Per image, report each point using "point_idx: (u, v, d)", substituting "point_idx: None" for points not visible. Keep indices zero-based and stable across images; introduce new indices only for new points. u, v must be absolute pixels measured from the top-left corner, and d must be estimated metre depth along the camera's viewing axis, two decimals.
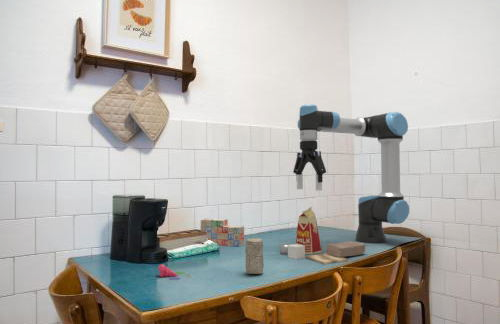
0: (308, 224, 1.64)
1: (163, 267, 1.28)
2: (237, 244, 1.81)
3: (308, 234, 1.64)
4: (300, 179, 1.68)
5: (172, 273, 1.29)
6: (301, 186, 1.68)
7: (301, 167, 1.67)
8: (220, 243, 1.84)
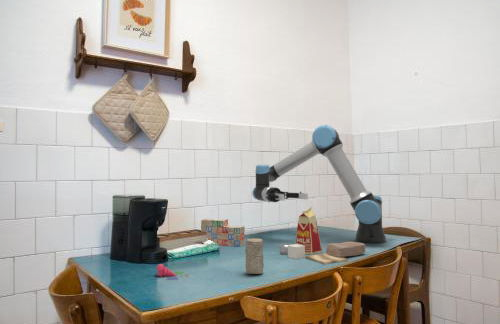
0: (308, 223, 1.64)
1: (161, 267, 1.28)
2: (237, 244, 1.81)
3: (308, 234, 1.64)
4: (301, 195, 1.84)
5: (170, 273, 1.29)
6: (305, 195, 1.81)
7: (292, 196, 1.87)
8: (220, 243, 1.84)
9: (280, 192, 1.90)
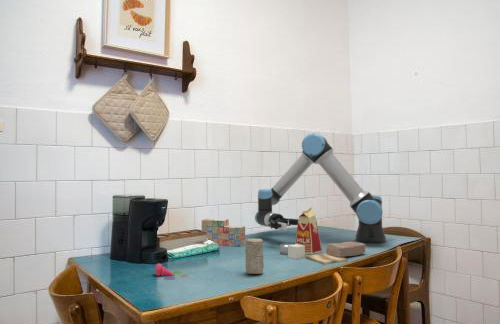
0: (308, 223, 1.64)
1: (159, 266, 1.29)
2: (238, 244, 1.81)
3: (308, 234, 1.64)
4: None
5: (168, 272, 1.29)
6: None
7: (295, 223, 1.84)
8: (221, 243, 1.84)
9: (283, 219, 1.87)
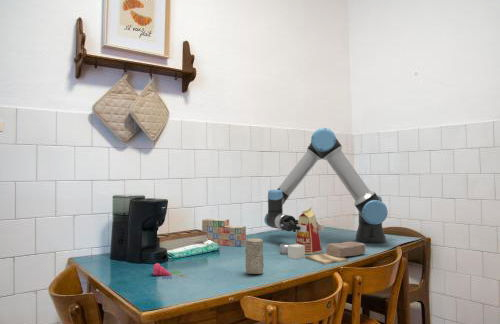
0: (308, 223, 1.64)
1: (157, 266, 1.30)
2: (239, 244, 1.81)
3: (308, 234, 1.64)
4: None
5: (166, 272, 1.30)
6: (320, 226, 1.67)
7: None
8: (222, 243, 1.84)
9: (294, 221, 1.78)
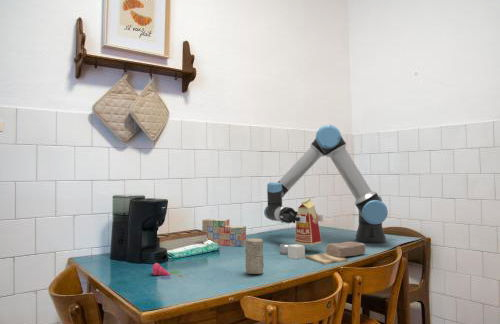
0: (307, 214, 1.64)
1: (156, 266, 1.30)
2: (239, 244, 1.81)
3: (308, 224, 1.64)
4: None
5: (165, 272, 1.30)
6: (319, 216, 1.67)
7: None
8: (222, 243, 1.84)
9: (294, 212, 1.78)
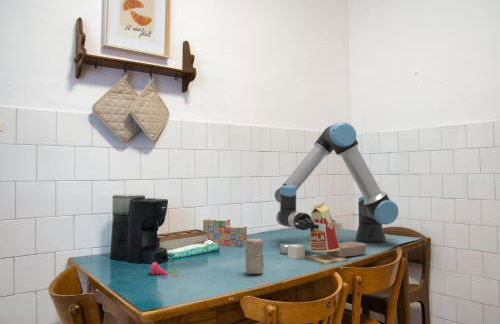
0: (321, 219, 1.52)
1: (154, 265, 1.31)
2: (240, 244, 1.81)
3: None
4: None
5: (162, 271, 1.31)
6: (339, 224, 1.53)
7: None
8: (223, 243, 1.84)
9: (310, 219, 1.64)
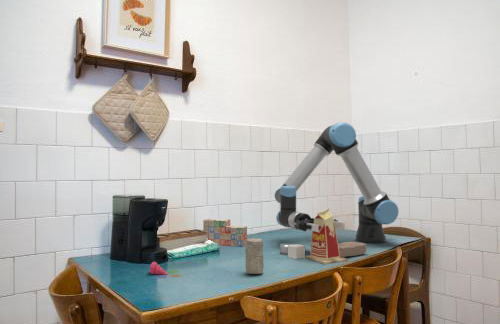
0: (323, 226, 1.50)
1: (153, 265, 1.31)
2: (240, 244, 1.81)
3: (324, 237, 1.49)
4: (336, 224, 1.58)
5: (161, 271, 1.31)
6: (341, 224, 1.55)
7: None
8: (223, 243, 1.84)
9: (311, 219, 1.64)
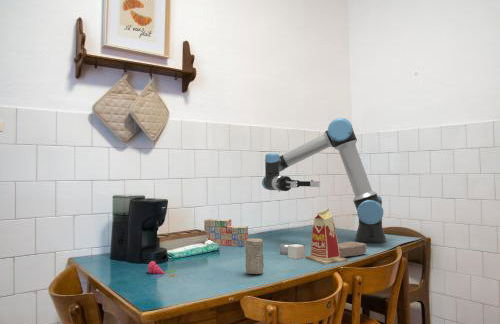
0: (323, 226, 1.50)
1: (151, 264, 1.33)
2: (241, 244, 1.80)
3: (324, 237, 1.49)
4: (312, 183, 1.79)
5: (159, 271, 1.32)
6: (317, 182, 1.76)
7: (303, 184, 1.83)
8: (224, 243, 1.84)
9: (291, 180, 1.85)
